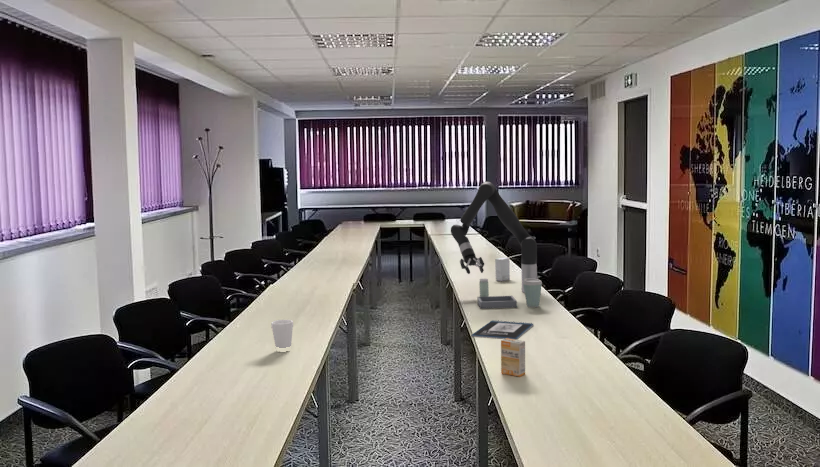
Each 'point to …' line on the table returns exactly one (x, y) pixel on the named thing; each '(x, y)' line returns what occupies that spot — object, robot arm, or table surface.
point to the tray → (496, 302)
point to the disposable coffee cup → (532, 291)
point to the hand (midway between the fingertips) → (475, 272)
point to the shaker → (484, 287)
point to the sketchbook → (503, 330)
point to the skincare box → (502, 269)
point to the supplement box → (513, 357)
